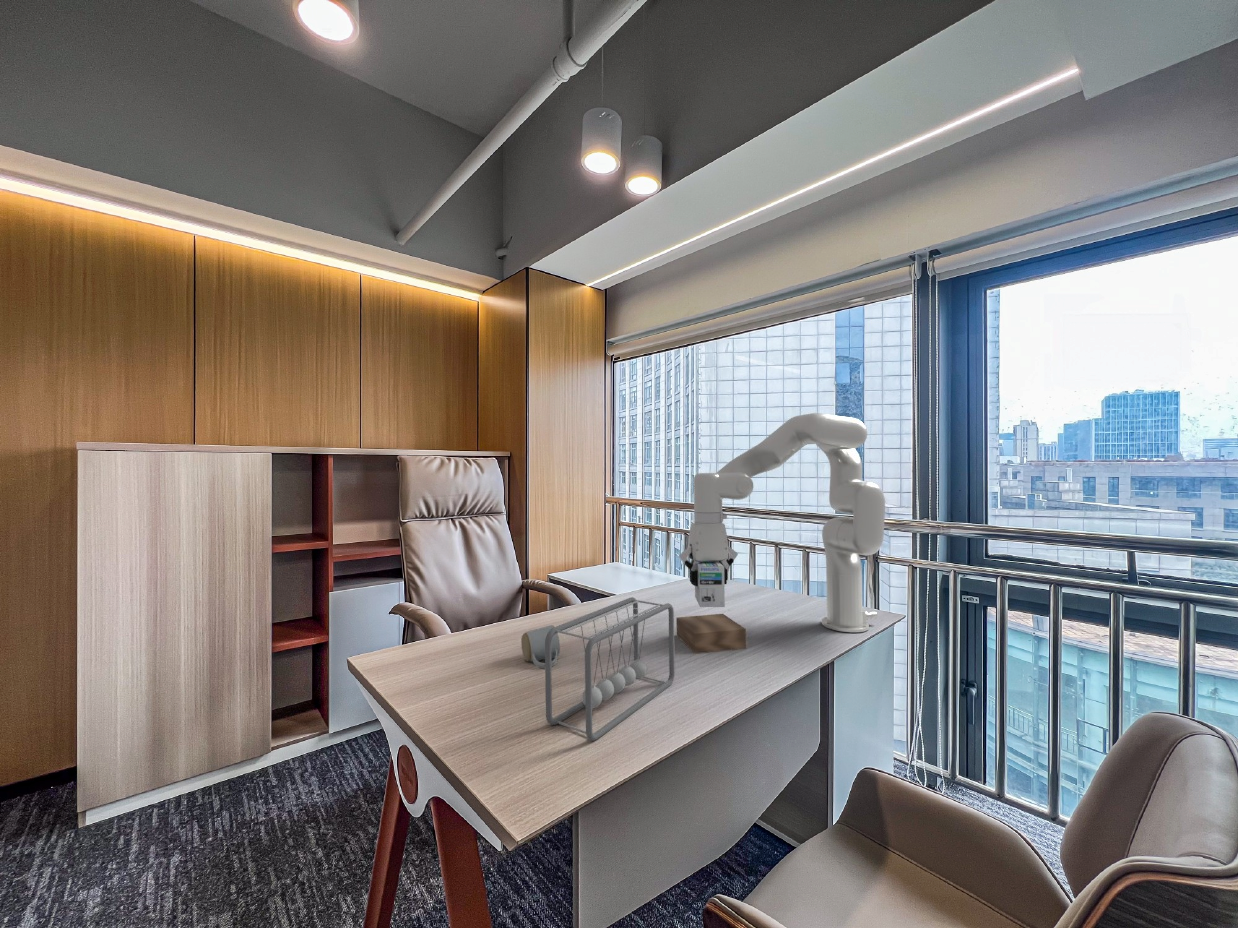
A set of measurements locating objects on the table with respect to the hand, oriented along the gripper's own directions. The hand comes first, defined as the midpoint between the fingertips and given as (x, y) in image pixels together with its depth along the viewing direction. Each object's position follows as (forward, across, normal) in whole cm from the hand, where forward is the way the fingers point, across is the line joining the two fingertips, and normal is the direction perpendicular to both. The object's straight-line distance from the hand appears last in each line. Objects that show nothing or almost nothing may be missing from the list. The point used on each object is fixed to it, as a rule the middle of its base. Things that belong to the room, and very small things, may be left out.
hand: (708, 583), depth 133 cm
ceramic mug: (+16, +44, +2) cm, 47 cm away
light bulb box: (+5, 0, 0) cm, 5 cm away
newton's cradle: (+16, +32, +28) cm, 45 cm away
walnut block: (+16, 0, 0) cm, 16 cm away
